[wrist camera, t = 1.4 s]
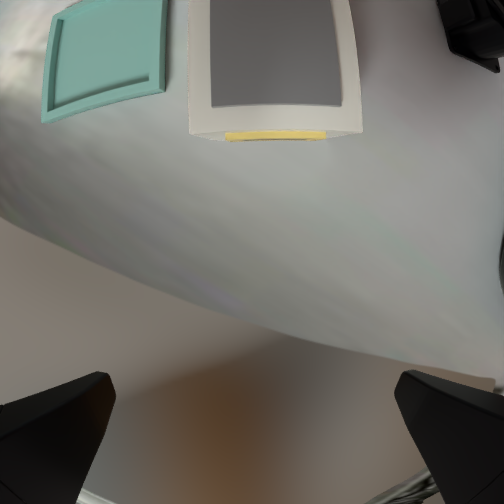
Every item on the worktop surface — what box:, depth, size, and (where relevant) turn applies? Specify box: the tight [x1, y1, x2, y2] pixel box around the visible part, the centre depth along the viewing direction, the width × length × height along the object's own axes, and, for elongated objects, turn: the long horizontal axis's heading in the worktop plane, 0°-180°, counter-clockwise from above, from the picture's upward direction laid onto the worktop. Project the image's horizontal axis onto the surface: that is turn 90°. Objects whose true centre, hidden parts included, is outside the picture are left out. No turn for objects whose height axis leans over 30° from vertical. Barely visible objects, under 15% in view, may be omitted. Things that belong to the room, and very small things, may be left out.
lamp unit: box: [188, 0, 363, 142], centre depth 12 cm, size 7×8×7 cm
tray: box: [41, 0, 168, 123], centre depth 13 cm, size 10×10×1 cm
